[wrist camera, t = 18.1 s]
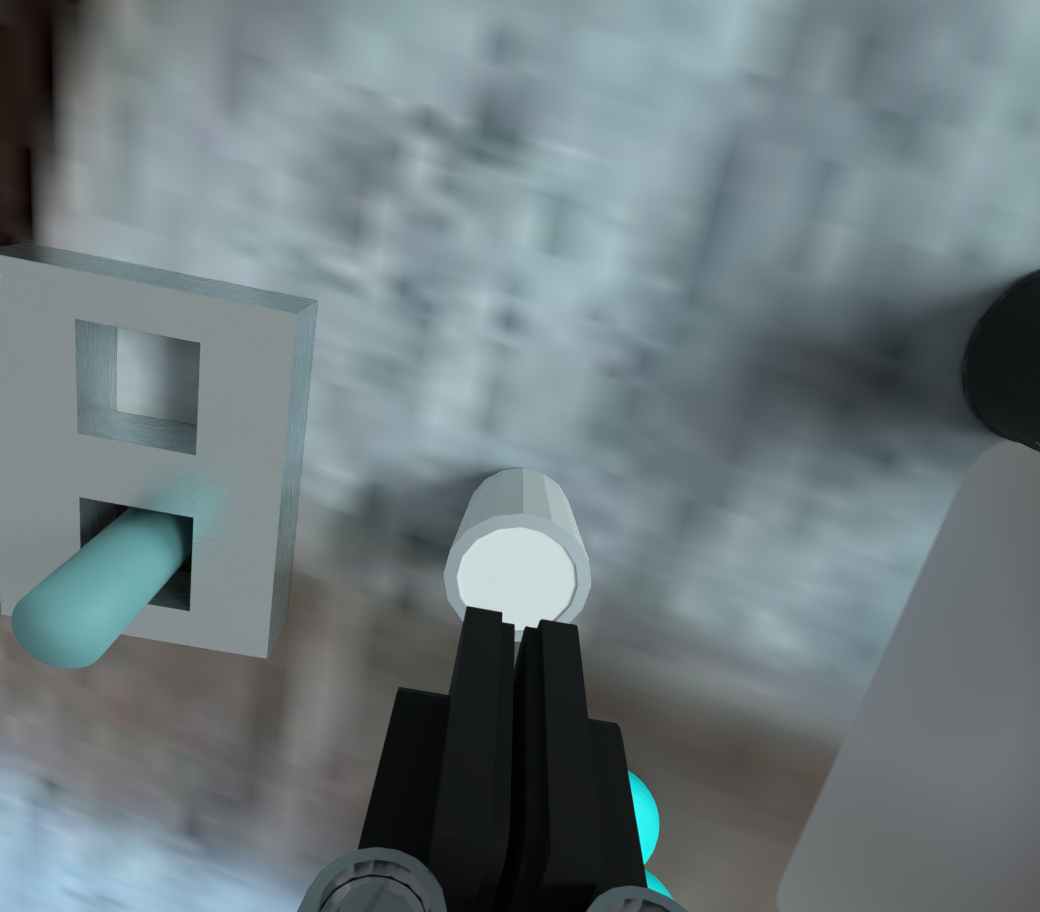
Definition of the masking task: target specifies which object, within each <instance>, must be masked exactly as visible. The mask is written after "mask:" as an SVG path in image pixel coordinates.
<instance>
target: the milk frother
mask: <svg viewBox="0 0 1040 912" xmlns="http://www.w3.org/2000/svg"><path fill="white" fill-rule="evenodd" d="M963 369H964V370H963V387H964V392H965V396H966V399H967V402H968V404H969V407H970V408H971V410H972V412H973V413H974V415H975V416H976V418H977V419H978V420H979V421H981V423H982V424H983V425H984V426H985V427H986V428H988V429H989V430H990V431H992V432H993V433H995V434H997V435H999V436H1001V437H1003V438H1006V439H1008V440H1010V441H1014V442H1018V443H1022V444H1024V445H1026V446H1028V447H1030V448H1032V449H1034V450H1037V451H1039V452H1040V272H1039V273H1037V274H1035V275H1033V276H1030V277H1029V278H1027V279H1025V280H1023V281H1022V282H1020V283H1018V284H1017V285H1015V286H1014V287H1013V288H1012V289H1010V290H1009V291H1008V292H1006V293H1005V294H1004V295H1003V296H1002V297H1001V298H1000V299H999V300H998V301H997V302H996V303H994V305H993V306H992V307H991V308H990V310H989V311H988V312H987V313H986V315H985V316H984V317H983V318H982V319H981V321H980V323H979V324H978V326H977V327H976V329H975V331H974V333H973V336H972V337H971V340H970V342H969V344H968V348H967V351H966V354H965V359H964V364H963Z"/></svg>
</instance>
